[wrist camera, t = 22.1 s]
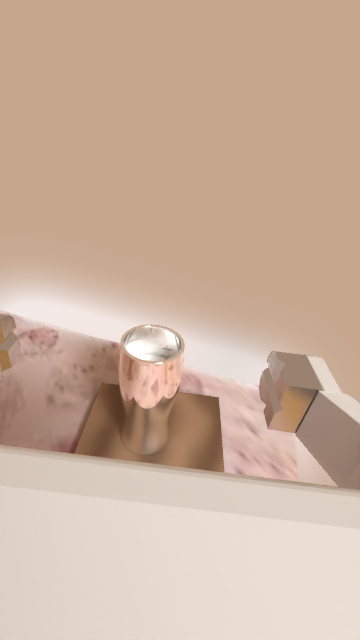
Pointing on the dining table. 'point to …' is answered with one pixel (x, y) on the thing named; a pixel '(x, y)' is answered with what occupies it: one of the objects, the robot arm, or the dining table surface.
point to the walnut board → (184, 432)
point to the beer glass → (149, 385)
